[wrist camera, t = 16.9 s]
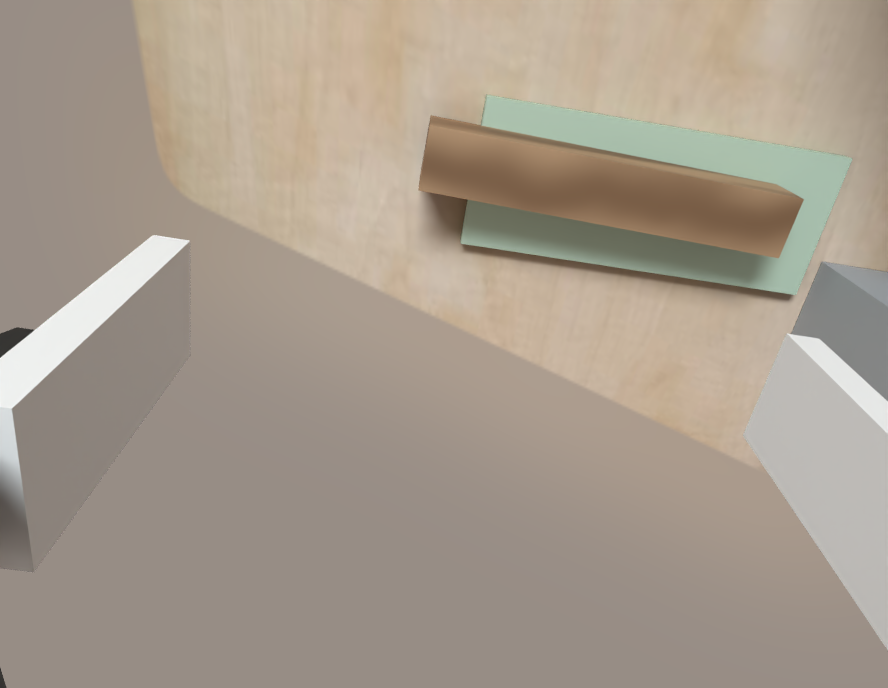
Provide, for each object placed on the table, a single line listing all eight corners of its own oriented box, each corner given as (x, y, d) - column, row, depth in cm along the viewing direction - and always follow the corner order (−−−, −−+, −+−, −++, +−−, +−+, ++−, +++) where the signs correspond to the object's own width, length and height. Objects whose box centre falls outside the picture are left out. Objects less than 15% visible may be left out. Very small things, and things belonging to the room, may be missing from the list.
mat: (486, 94, 46) (487, 96, 45) (844, 155, 47) (852, 158, 46) (460, 239, 50) (460, 243, 49) (789, 290, 52) (795, 295, 51)
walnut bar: (430, 115, 45) (429, 125, 42) (776, 184, 47) (804, 199, 44) (420, 175, 47) (418, 190, 43) (754, 239, 49) (778, 258, 45)
